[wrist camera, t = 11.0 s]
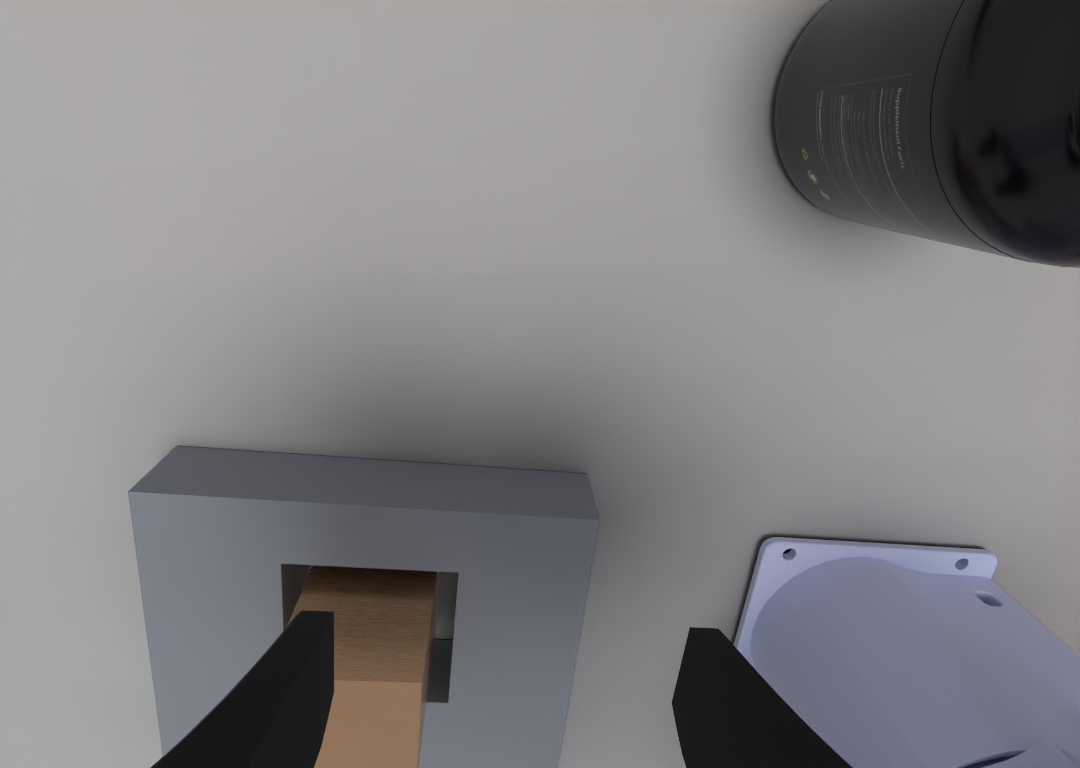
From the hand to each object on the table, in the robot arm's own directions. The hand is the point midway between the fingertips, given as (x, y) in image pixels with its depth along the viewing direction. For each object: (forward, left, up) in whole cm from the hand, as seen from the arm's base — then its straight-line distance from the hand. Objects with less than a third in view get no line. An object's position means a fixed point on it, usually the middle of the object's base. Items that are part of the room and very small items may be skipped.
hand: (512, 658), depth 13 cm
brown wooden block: (+4, +6, -10) cm, 12 cm away
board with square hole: (+4, +9, -10) cm, 14 cm away
